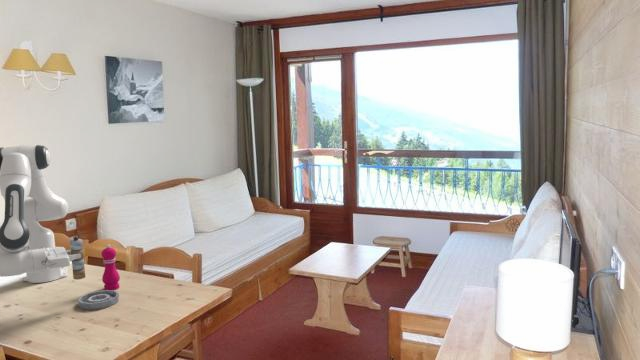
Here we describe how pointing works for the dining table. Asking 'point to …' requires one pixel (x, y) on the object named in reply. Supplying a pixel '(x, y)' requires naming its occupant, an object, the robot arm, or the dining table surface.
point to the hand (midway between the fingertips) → (79, 253)
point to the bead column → (78, 263)
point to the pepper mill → (110, 269)
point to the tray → (98, 300)
